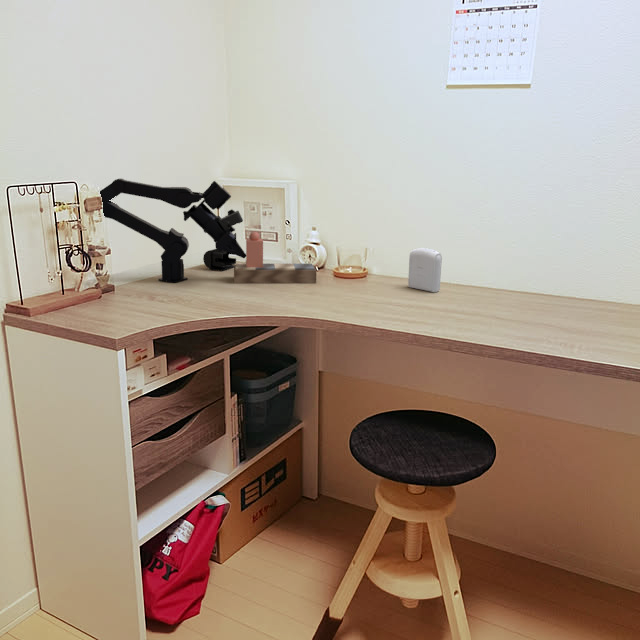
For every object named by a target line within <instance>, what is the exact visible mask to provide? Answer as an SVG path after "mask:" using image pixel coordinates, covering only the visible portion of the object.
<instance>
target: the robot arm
mask: <svg viewBox="0 0 640 640" xmlns="http://www.w3.org/2000/svg"><path fill="white" fill-rule="evenodd" d="M99 191H100V194H101V197H102V202H103V213H104V216H105V217H104V218H107V219H110V220H113V221H115V222H117V223H119V224H121V225H123V226H125V227H127V228H129V229H131V230H132V231H134V232H136V233H138V234H139V235H142V236H144V237H146V238H148V239H149V240H152V241H153V242H156V243H157V244H158V246H160V248H162V249H163V252H162V254H161V255H160V258H161V262H160V263H161V277H159V278H158V279H157V280H158V281H160V282H167V283H180V282H183V281H186V280H188V277H185V264H184V259H183V258H182V257H183V256H184V255H186V253H187V252H188V250H189V247H190V243H189V241H188V238H187V237H185V236H184V235H185V234H184V233H182V232H179V231H177V230H176V229H175V228H173V227H171V228H170V229H169V230H165V229H162V228H159V227H158V226H156V225H154V224H152V223H150V222H148V221H147V220H144V219H143V218H141V217H139V216H137V215H136V214H133V213H132V212H130V211H128V210H125V209H124V208H122V207H121V206H119V205H118V204H117V203H116V202H115V203H116V204H115V203H113V202H111V201H109V200H111V199H112V198H114V197H115V196H116V197H118V196H119V195H120V194H125V195H130V196H131V195H132V196H135V197H136V196H137V197H141V198H142V197H143V198H147V199H152V200H153V199H154V200H159V201H162V202H164V203H167V204H168V205H171V206H174V207H177V208H180V209H188V208H189V207H190V208H189V209H188V210H183V212H182V213H183V221H184V222H187V221H188V220H189V218H190V219H192V220H193V221H194V222H195V223H196V224H197V225H198V226H199V227H200V228H201V229H202V230H203V233H204V234H207V235H208V236H209V237H210V238H211V239H212V240H213V242H215V243H214V244H215V249H217V250H218V251H220V252H221V251H222V250H224V251H227V252H229V253H232V254H234V255H235V256H238V257H240V258H242V259H245V258H246V251H244V250H243V248H242V246H241V245H240V244H239V242H238V240H237V233H236V228H235V227H233V226H235V225H237V224H241V223H243V221H244V219H243V217H242V215H241V213H240V211H239V210H236V211H235V210H234V209H228V211H227V215H225V216H224V217H221V216H219V215H216V214H215V213H214V212H213V211H214V210H215V209H217V210H218V211H219V210H220V209H221V208H222V207H223V206H224V205H225V204H226V203H227V202H228V201H229V200H231V198H232V195H231V194H230V193H229V192H228V191H227V190H226V189H225V187H222V186H221V185H220V184H219V183H218V182H217V181H216V180H213V182H212V183H210V185H209V186H208V188H207V189H206V190H205V191H203V192H200V191H199V192H198V191H197V192H196V191H193V190H192V189H191V188H189V187H186V186H169V187H168V186H159V185H154V184H147V183H142V182H138V181H132V180H127V179H124V178H117V179H114V180H113V181H112V182H110V183H109V184H108V185H107V186H105V187H104V188H102V189H101V190H99ZM116 197H115V198H116ZM115 198H114V199H115ZM112 200H113V199H112ZM201 200H202V201H201ZM200 201H201V202H200ZM194 203H195V204H196V203H199V204H198V205H195V204H194ZM192 204H193V205H192ZM212 210H213V211H212ZM233 232H235V233H233ZM232 254H231V255H232Z"/></svg>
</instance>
